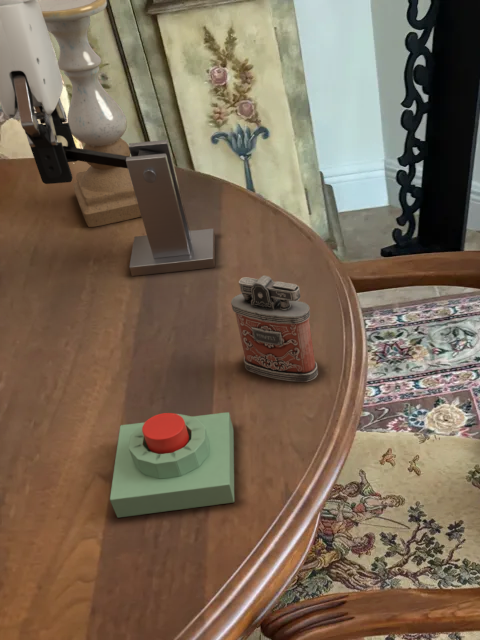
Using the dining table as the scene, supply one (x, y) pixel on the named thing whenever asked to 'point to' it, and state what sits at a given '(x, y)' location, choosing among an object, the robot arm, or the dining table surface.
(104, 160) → the lever
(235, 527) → the dining table surface
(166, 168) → the bracket
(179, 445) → the button
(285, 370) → the lighter
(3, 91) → the robot arm
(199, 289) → the dining table surface
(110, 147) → the candle holder
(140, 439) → the button box
